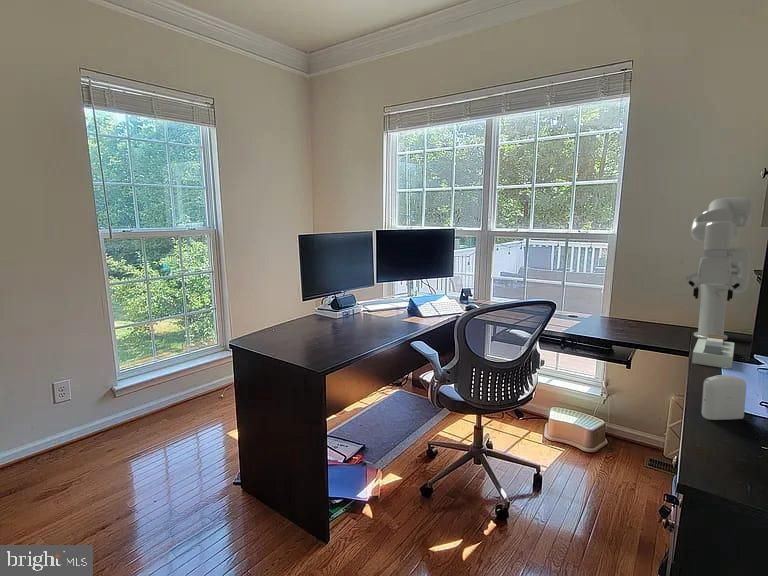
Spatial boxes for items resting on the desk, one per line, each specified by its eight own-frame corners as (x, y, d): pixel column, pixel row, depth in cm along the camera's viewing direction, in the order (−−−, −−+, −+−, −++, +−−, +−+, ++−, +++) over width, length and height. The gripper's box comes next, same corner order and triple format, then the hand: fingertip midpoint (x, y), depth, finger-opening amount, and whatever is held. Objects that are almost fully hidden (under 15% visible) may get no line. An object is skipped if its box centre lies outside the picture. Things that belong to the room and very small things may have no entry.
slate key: (705, 351, 166) (706, 342, 166) (721, 353, 163) (722, 344, 163) (704, 354, 163) (705, 345, 162) (720, 357, 159) (721, 347, 159)
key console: (697, 348, 182) (698, 338, 182) (733, 353, 175) (734, 342, 174) (692, 363, 164) (692, 351, 164) (731, 369, 157) (732, 357, 156)
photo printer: (709, 421, 117) (712, 378, 115) (698, 414, 121) (701, 373, 119) (746, 420, 117) (750, 377, 115) (734, 413, 121) (737, 372, 119)
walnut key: (708, 342, 178) (708, 333, 178) (723, 344, 175) (724, 335, 175) (707, 345, 175) (708, 336, 174) (722, 347, 171) (723, 337, 171)
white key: (706, 346, 172) (707, 337, 172) (722, 348, 169) (723, 339, 169) (705, 349, 169) (706, 340, 168) (721, 351, 165) (722, 342, 165)
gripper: (746, 254, 155) (742, 300, 157) (688, 253, 167) (685, 296, 169) (746, 255, 150) (741, 302, 152) (686, 254, 161) (683, 298, 163)
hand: (712, 299), depth 160 cm, fingers open, 9 cm apart
